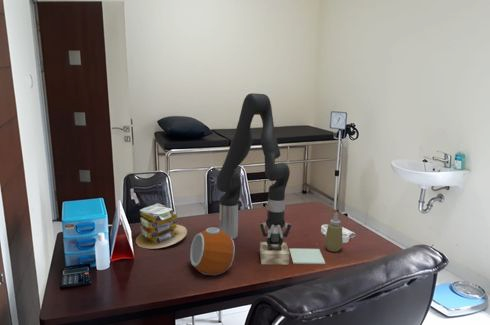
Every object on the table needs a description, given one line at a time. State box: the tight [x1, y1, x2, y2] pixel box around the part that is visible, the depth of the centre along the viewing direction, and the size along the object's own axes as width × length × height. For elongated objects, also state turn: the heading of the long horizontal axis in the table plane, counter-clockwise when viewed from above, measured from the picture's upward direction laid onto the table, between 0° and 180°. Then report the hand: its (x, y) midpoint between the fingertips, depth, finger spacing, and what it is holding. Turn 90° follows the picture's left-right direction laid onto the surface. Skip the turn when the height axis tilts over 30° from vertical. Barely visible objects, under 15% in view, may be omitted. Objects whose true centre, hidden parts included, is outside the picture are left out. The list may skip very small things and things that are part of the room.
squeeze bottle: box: [324, 212, 343, 253], centre depth 185 cm, size 8×8×18 cm
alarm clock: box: [189, 226, 236, 276], centre depth 165 cm, size 19×18×17 cm
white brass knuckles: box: [320, 224, 357, 244], centre depth 203 cm, size 3×18×15 cm
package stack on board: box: [135, 203, 188, 250], centre depth 193 cm, size 25×25×17 cm
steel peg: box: [270, 225, 280, 251], centre depth 175 cm, size 4×4×16 cm
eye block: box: [259, 241, 290, 266], centre depth 176 cm, size 12×12×5 cm
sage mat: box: [288, 247, 326, 265], centre depth 179 cm, size 14×14×1 cm
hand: (274, 245), depth 175 cm, fingers closed on steel peg, 4 cm apart
